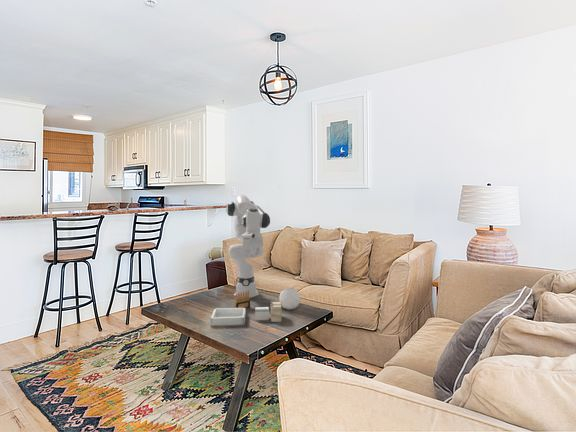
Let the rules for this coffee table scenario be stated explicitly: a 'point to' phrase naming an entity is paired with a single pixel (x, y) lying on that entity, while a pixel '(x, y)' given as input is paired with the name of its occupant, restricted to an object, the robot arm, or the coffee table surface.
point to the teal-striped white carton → (262, 313)
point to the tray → (228, 316)
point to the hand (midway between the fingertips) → (253, 256)
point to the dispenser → (275, 311)
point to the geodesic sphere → (289, 298)
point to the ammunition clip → (242, 300)
